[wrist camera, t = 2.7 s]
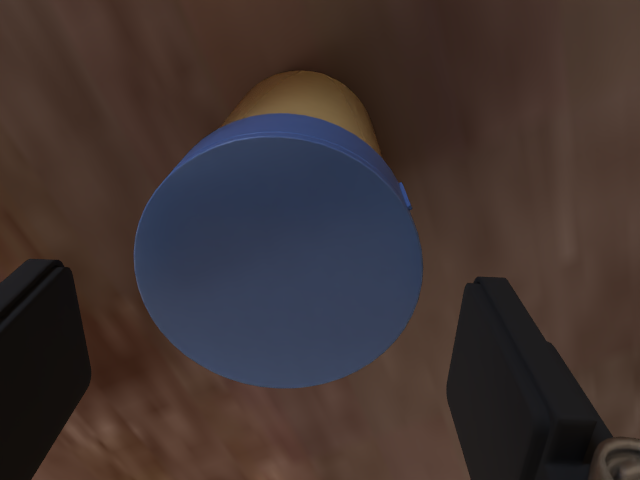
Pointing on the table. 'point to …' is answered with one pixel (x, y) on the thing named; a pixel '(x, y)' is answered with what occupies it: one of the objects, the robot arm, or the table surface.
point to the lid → (280, 253)
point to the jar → (308, 102)
